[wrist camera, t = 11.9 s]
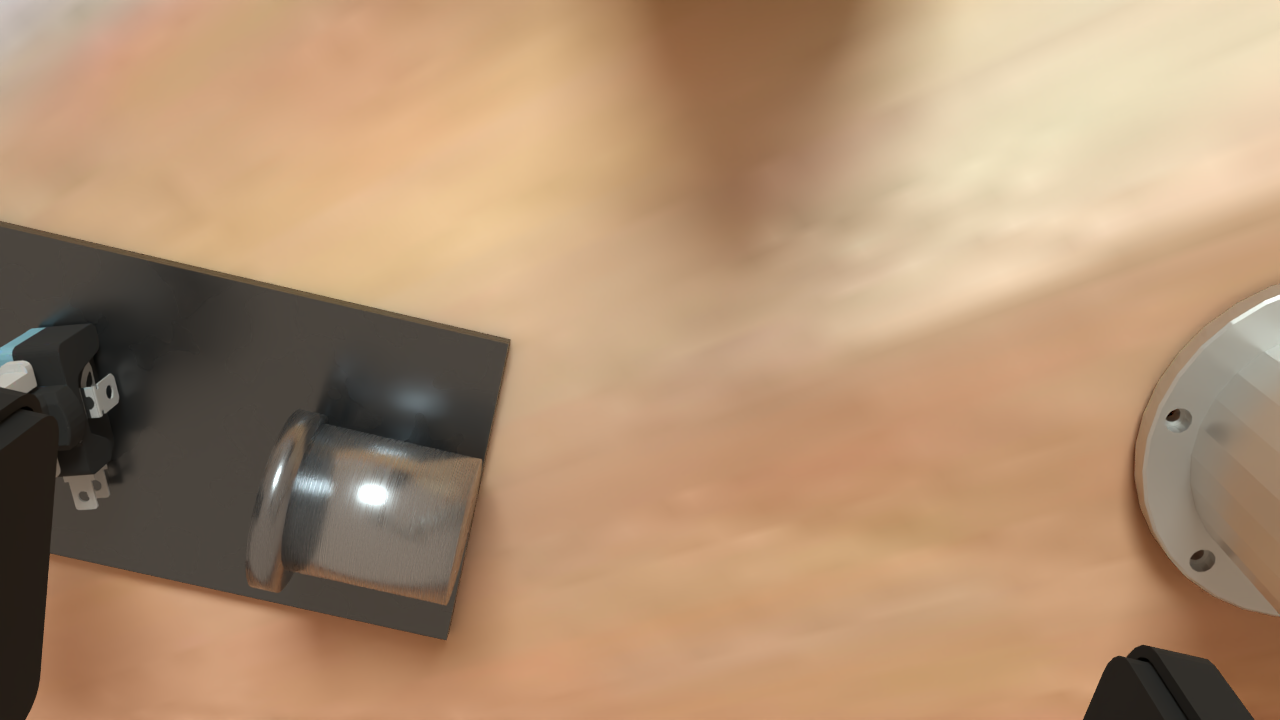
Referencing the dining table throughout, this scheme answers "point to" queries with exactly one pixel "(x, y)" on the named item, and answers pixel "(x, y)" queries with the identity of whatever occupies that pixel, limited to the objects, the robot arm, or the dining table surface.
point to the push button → (67, 399)
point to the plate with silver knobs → (268, 432)
